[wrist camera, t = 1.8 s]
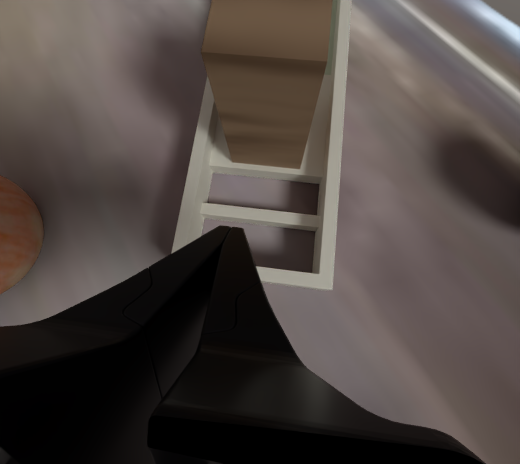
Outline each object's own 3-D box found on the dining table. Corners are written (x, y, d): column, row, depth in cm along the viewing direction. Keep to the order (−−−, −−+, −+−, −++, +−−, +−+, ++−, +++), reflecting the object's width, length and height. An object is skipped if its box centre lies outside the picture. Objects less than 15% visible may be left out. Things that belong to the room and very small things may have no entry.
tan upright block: (300, 169, 23) (327, 61, 12) (232, 162, 23) (200, 51, 13) (308, 91, 25) (338, -64, 14) (244, 85, 25) (226, -69, 14)
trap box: (322, 290, 22) (332, 290, 19) (183, 272, 23) (168, 268, 19) (344, -5, 29) (354, -45, 26) (237, -12, 30) (232, -51, 26)
